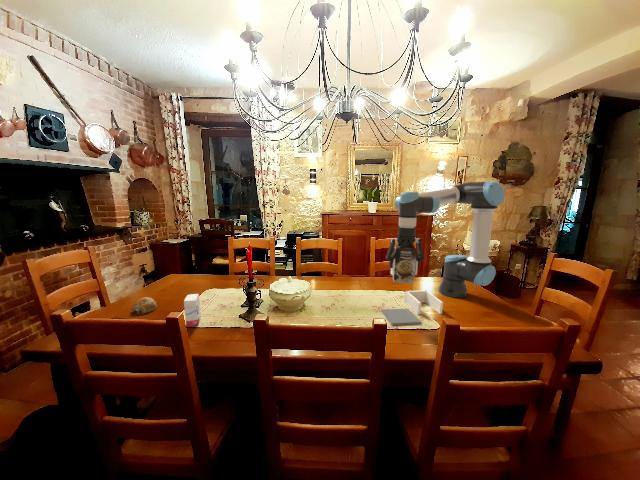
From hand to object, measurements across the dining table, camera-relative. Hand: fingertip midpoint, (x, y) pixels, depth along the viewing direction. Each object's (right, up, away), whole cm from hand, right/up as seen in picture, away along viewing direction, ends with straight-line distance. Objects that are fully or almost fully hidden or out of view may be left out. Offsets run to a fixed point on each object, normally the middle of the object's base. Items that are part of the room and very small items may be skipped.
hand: (403, 274), depth 122 cm
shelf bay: (+15, -19, +15) cm, 29 cm away
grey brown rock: (-126, -19, +9) cm, 127 cm away
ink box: (-96, -21, -3) cm, 99 cm away
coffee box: (0, -3, +1) cm, 4 cm away
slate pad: (0, -21, +4) cm, 21 cm away
